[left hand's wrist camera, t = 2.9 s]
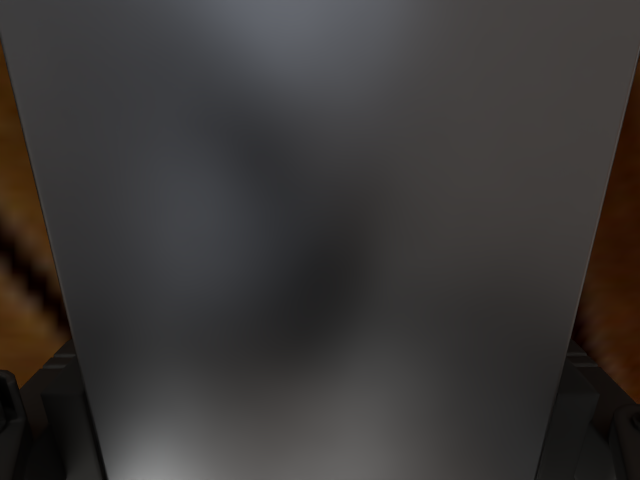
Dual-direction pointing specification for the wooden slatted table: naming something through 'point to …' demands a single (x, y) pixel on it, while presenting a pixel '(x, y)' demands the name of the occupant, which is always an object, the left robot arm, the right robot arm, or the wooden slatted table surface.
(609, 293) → the wooden slatted table surface
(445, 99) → the box
